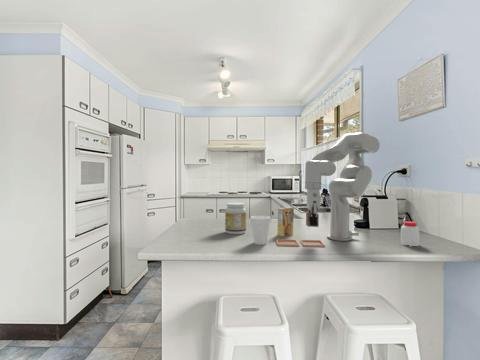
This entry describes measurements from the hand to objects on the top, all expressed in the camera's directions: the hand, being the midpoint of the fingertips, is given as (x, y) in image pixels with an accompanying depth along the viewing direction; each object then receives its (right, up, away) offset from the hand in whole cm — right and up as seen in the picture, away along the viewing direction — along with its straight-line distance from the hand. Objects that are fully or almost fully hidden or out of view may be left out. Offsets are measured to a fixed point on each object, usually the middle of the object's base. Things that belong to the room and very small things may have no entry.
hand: (312, 223), depth 141 cm
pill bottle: (+48, -11, +3) cm, 50 cm away
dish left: (0, -10, +1) cm, 10 cm away
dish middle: (-12, -10, +1) cm, 16 cm away
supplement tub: (-37, -10, +28) cm, 47 cm away
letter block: (0, -1, 0) cm, 1 cm away
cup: (-25, -10, +2) cm, 27 cm away
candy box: (-10, -10, +21) cm, 25 cm away
